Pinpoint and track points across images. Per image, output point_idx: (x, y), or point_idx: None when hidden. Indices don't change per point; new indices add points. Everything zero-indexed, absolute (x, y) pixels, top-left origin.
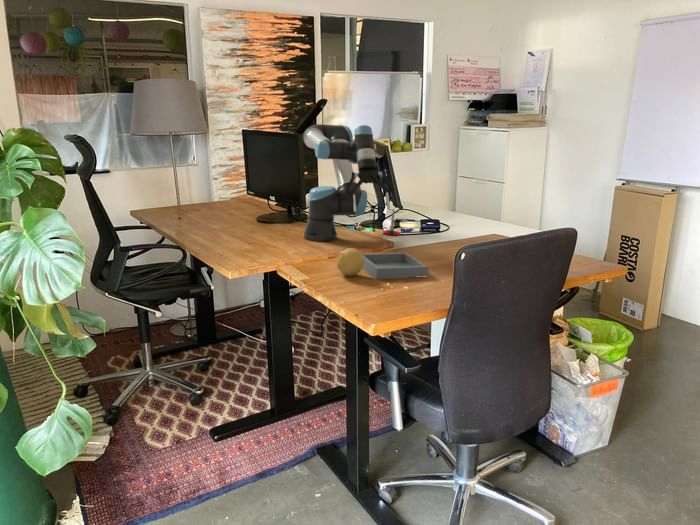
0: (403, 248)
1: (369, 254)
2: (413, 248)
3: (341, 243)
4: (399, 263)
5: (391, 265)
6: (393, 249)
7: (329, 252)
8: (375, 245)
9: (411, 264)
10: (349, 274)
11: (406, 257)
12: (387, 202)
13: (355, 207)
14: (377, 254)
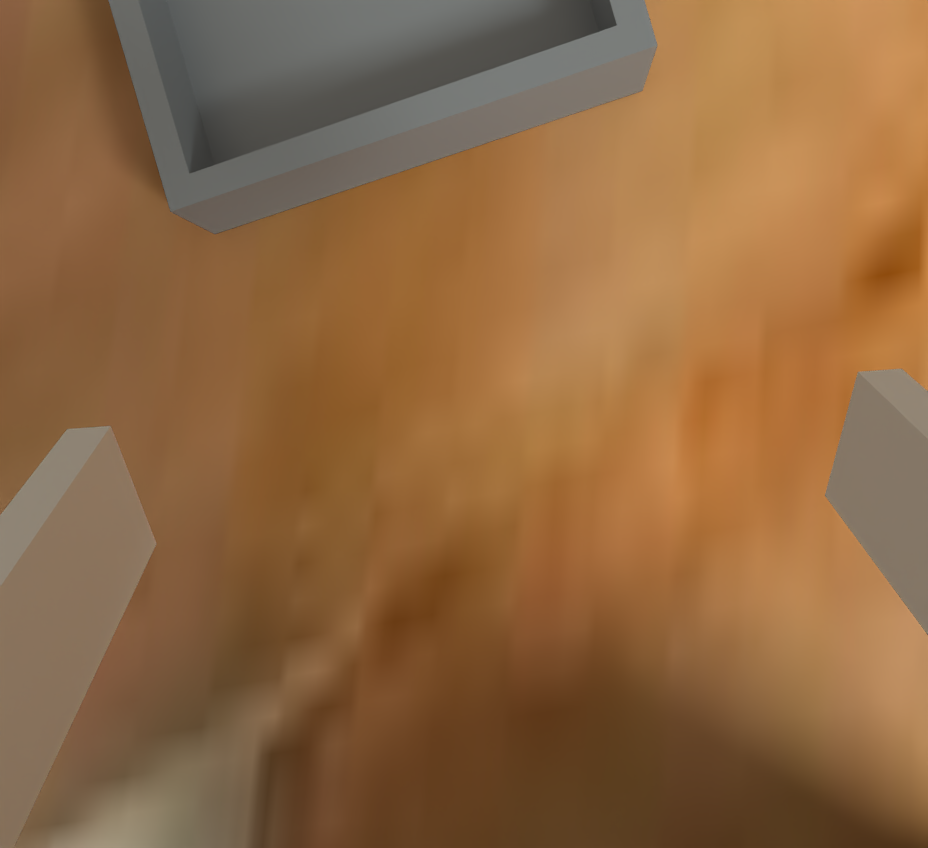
0: (173, 732)
1: (541, 53)
2: (83, 746)
3: (768, 844)
4: (268, 115)
5: (345, 33)
6: (269, 680)
7: None
8: (426, 810)
9: (168, 30)
10: None
11: (185, 129)
12: (58, 513)
13: (904, 398)
14: (458, 81)
